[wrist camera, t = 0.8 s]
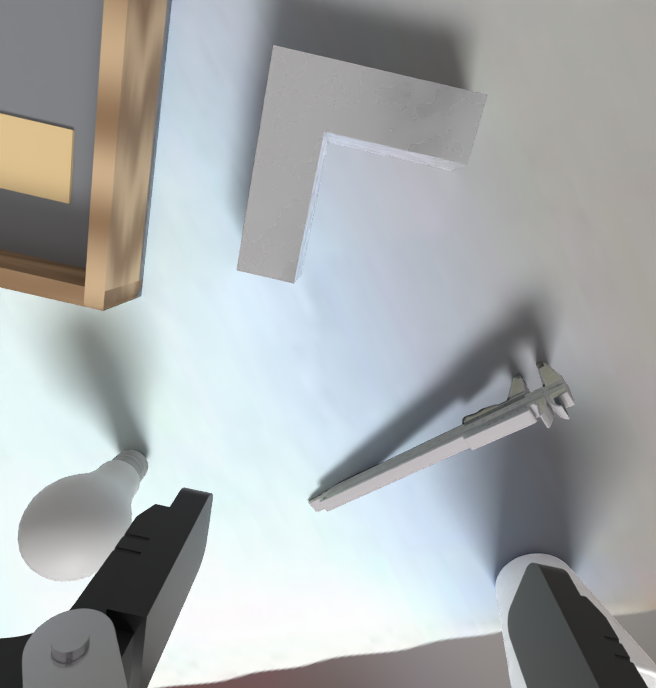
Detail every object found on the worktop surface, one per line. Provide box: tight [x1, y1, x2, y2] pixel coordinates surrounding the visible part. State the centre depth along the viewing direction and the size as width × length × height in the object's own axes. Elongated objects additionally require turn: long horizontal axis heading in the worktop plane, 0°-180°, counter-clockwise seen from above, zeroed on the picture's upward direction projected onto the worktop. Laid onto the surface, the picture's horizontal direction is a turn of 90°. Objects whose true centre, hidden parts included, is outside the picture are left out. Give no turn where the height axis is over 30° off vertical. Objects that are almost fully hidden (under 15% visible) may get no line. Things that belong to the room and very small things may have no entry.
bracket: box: [237, 45, 487, 283], centre depth 27 cm, size 12×12×4 cm
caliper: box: [309, 362, 575, 512], centre depth 31 cm, size 20×1×6 cm, turn 126°
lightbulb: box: [18, 450, 148, 581], centre depth 30 cm, size 6×6×11 cm
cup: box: [495, 553, 656, 688], centre depth 31 cm, size 10×10×11 cm
